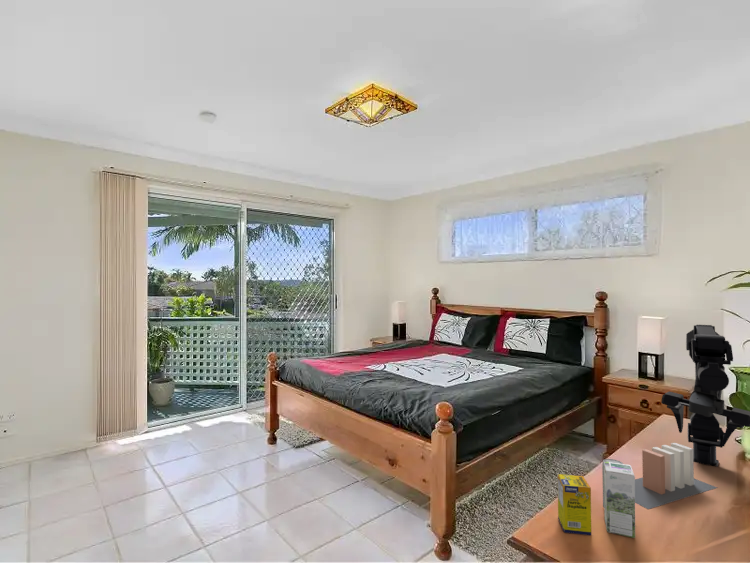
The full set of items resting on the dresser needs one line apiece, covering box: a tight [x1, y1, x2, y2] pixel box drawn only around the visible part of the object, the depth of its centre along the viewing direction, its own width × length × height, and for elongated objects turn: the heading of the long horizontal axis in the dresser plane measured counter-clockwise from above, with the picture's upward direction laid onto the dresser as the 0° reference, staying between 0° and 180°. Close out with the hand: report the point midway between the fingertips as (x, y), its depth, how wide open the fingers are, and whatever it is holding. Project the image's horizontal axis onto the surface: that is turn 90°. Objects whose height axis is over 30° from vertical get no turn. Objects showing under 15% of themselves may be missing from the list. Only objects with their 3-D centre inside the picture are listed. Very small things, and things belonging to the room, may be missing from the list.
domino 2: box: [661, 444, 685, 489], centre depth 115 cm, size 2×5×10 cm, turn 22°
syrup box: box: [603, 461, 636, 539], centre depth 95 cm, size 6×6×14 cm
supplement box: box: [557, 473, 592, 536], centre depth 96 cm, size 6×6×11 cm
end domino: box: [641, 448, 665, 494], centre depth 112 cm, size 2×5×10 cm, turn 22°
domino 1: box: [651, 446, 675, 491], centre depth 114 cm, size 2×5×10 cm, turn 22°
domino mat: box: [635, 476, 718, 510], centre depth 113 cm, size 28×12×1 cm, turn 112°
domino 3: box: [670, 442, 695, 486], centre depth 117 cm, size 2×5×10 cm, turn 22°
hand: (701, 438), depth 111 cm, fingers open, 9 cm apart
